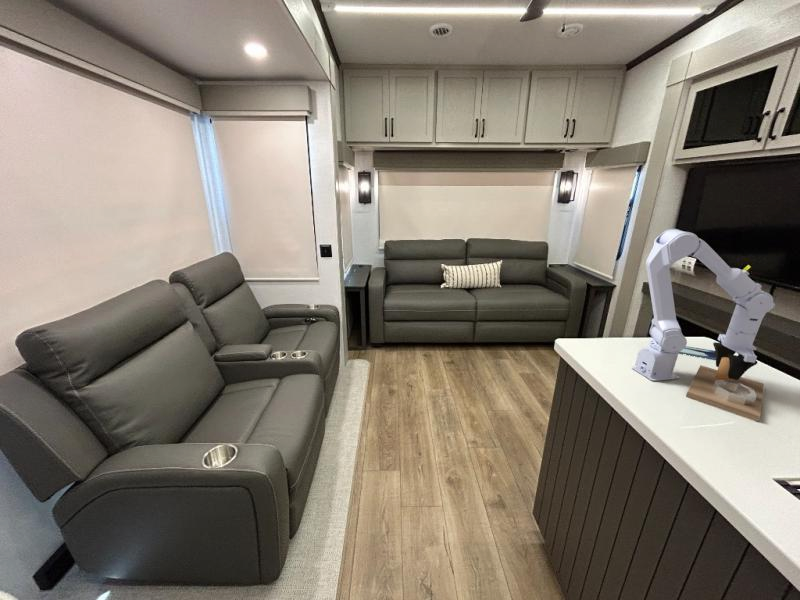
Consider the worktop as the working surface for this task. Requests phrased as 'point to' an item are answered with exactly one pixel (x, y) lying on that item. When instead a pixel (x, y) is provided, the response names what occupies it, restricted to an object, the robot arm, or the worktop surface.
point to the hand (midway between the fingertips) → (726, 372)
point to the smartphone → (699, 352)
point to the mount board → (704, 393)
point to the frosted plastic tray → (734, 392)
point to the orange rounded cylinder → (723, 369)
